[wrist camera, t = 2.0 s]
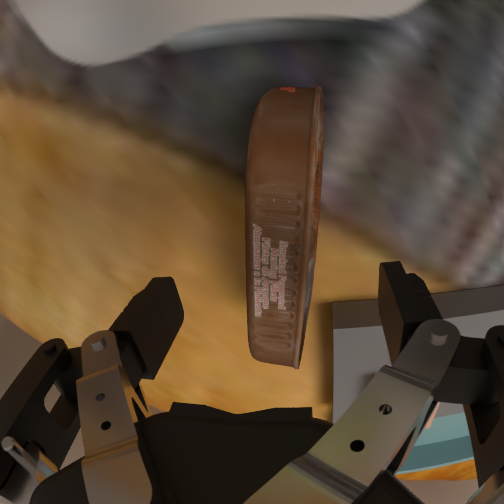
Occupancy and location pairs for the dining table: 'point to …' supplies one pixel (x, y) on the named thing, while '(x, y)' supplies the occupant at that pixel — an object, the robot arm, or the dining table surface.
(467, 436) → the tray
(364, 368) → the grey stone slab
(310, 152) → the tin
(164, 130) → the dining table surface
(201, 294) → the dining table surface
